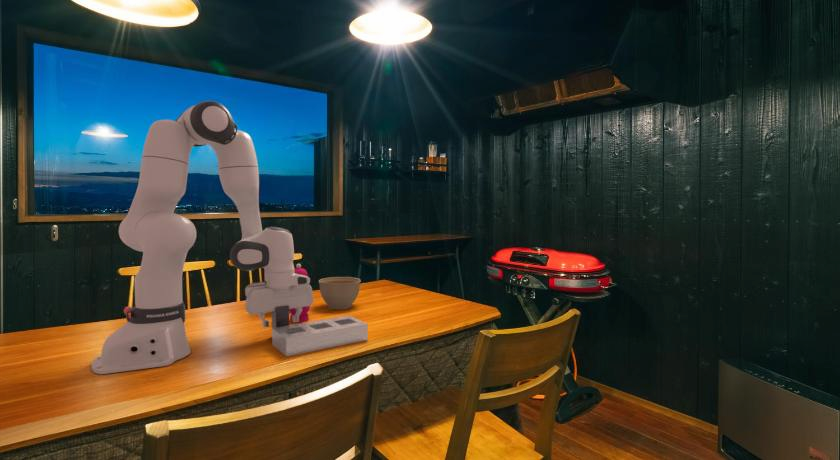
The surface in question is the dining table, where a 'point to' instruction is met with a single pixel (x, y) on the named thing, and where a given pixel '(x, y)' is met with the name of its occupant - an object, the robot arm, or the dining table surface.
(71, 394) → the dining table surface
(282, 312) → the steel block
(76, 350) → the dining table surface
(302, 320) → the pepper mill
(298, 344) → the white slotted block holder
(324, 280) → the planter bowl
